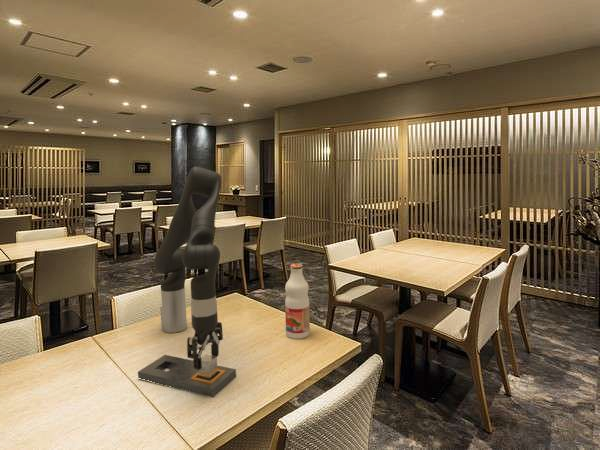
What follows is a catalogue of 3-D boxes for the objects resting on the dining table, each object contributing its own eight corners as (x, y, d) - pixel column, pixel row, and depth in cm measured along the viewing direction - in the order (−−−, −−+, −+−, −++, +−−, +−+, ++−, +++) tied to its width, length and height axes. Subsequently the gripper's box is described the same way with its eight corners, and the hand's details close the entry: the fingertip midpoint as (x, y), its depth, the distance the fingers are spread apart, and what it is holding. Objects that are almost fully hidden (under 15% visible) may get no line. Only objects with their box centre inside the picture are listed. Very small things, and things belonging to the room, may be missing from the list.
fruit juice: (314, 336, 148) (312, 266, 145) (291, 341, 144) (290, 269, 141) (303, 327, 157) (302, 261, 153) (282, 332, 153) (280, 263, 149)
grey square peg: (199, 385, 116) (197, 360, 115) (207, 378, 119) (205, 354, 118) (210, 387, 114) (209, 362, 113) (218, 380, 118) (216, 356, 117)
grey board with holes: (138, 379, 120) (137, 371, 119) (165, 361, 131) (164, 354, 130) (213, 397, 109) (213, 388, 109) (236, 376, 120) (235, 368, 120)
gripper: (208, 302, 122) (210, 350, 124) (178, 317, 109) (181, 371, 111) (228, 304, 119) (230, 354, 121) (199, 321, 106) (202, 376, 108)
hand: (206, 362), depth 116 cm, fingers open, 8 cm apart
